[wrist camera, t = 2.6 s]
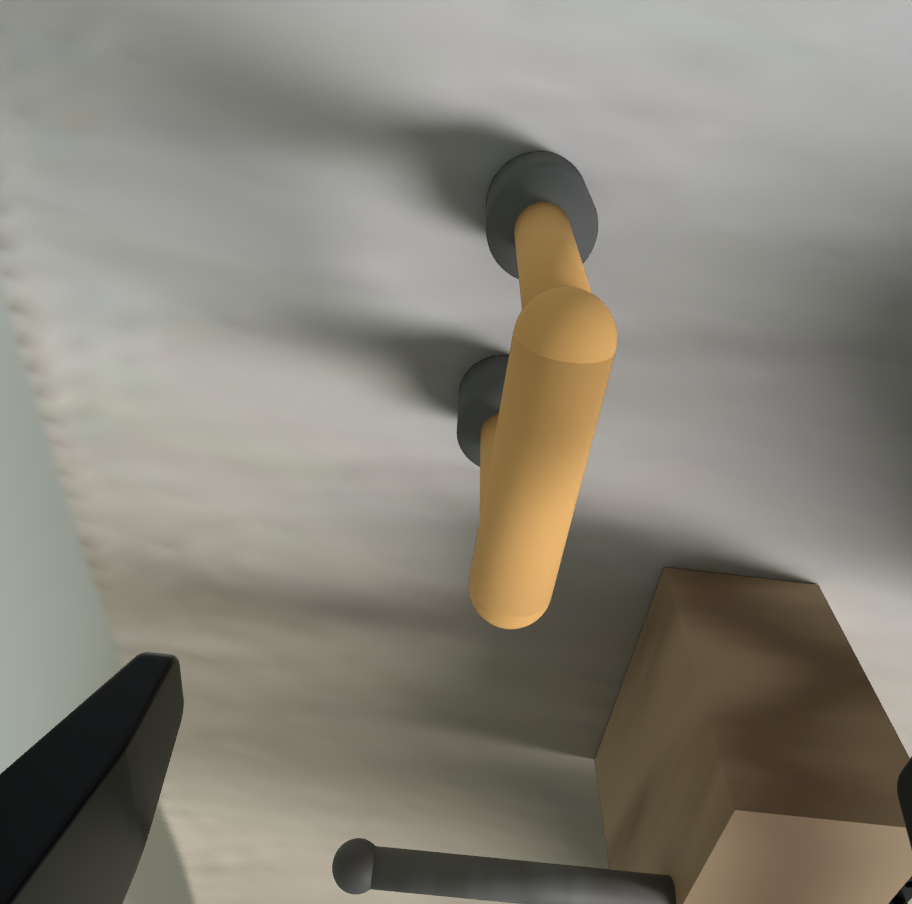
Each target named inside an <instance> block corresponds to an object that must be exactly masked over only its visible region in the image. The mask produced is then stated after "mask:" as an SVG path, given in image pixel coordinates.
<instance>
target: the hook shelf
mask: <svg viewBox="0 0 912 904" xmlns="http://www.w3.org/2000/svg"><path fill="white" fill-rule="evenodd" d="M909 760H910V758H909V756H908V754H907V752H906V750H905V748H904V746H903V745H902V743H901V741H900V739H899V737H898V735H897V733H896V731H895V729H894V727H893V726H892V724H891V722H890V720H889V718H888V716H887V714H886V712H885V710H884V709H883V707H882V705H881V703H880V701H879V699H878V697H877V695H876V693H875V691H874V690H873V688H872V686H871V684H870V682H869V680H868V678H867V676H866V674H865V672H864V671H863V669H862V667H861V665H860V663H859V661H858V659H857V657H856V655H855V653H854V652H853V650H852V648H851V646H850V644H849V642H848V640H847V638H846V636H845V634H844V633H843V631H842V629H841V627H840V625H839V623H838V621H837V619H836V617H835V616H834V614H833V612H832V610H831V608H830V606H829V604H828V602H827V600H826V598H825V597H824V595H823V593H822V591H821V589H820V587H819V585H815V584H806V583H798V582H789V581H780V580H772V579H763V578H754V577H746V576H737V575H728V574H720V573H711V572H702V571H694V570H685V569H676V568H668V567H664V569H663V572H662V575H661V578H660V580H659V583H658V586H657V589H656V592H655V594H654V597H653V600H652V603H651V605H650V608H649V611H648V614H647V616H646V619H645V622H644V625H643V628H642V630H641V633H640V636H639V639H638V641H637V644H636V647H635V650H634V653H633V655H632V658H631V661H630V664H629V666H628V669H627V672H626V675H625V678H624V680H623V683H622V686H621V689H620V691H619V694H618V697H617V700H616V703H615V705H614V708H613V711H612V714H611V716H610V719H609V722H608V725H607V727H606V730H605V733H604V736H603V739H602V741H601V744H600V747H599V750H598V752H597V755H596V758H595V768H596V775H597V782H598V790H599V797H600V804H601V812H602V819H603V827H604V834H605V841H606V849H607V856H608V863H609V869H600V868H590V867H580V866H570V865H560V864H550V863H540V862H529V861H519V860H509V859H499V858H489V857H479V856H469V855H459V854H449V853H439V852H429V851H419V850H408V849H398V848H388V847H378V846H375V845H374V844H373V843H371V842H370V841H368V840H366V839H361V838H356V839H352V840H349V841H347V842H345V843H344V844H343V845H342V846H341V847H340V848H339V849H338V851H337V852H336V854H335V857H334V860H333V865H332V871H333V876H334V879H335V881H336V883H337V885H338V886H339V887H340V888H341V889H342V890H343V891H345V892H347V893H350V894H362V893H364V892H367V891H368V890H370V889H374V890H385V891H395V892H405V893H416V894H426V895H436V896H447V897H457V898H467V899H478V900H488V901H498V902H509V903H519V904H889V902H890V901H891V900H892V899H893V898H894V896H895V895H896V894H897V893H898V892H899V890H900V889H901V888H902V887H903V886H904V885H905V883H906V882H907V881H908V880H909V879H910V877H911V876H912V850H911V846H910V842H909V838H908V834H907V830H906V826H905V823H904V819H903V815H902V811H901V807H900V803H899V799H898V794H897V780H898V777H899V774H900V772H901V771H902V770H903V768H904V767H905V765H906V764H907V763H908V761H909Z"/></svg>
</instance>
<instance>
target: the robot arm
mask: <svg viewBox="0 0 912 904" xmlns="http://www.w3.org/2000/svg"><path fill="white" fill-rule="evenodd" d="M183 707H184V699H183V690H182V681H181V672H180V664H179V661H178V659H177V657H176V656H174V655H169V654H160V653H150V652H145V653H141V654H139V655H137V656H136V657H135V658H134V659H132V660H131V661H130V662H129V663H128V664H127V665H126V666H124V667H123V668H122V669H121V670H120V671H119V672H118V673H116V674H115V675H114V676H113V677H112V678H111V679H109V680H108V681H107V682H106V683H105V684H104V685H103V686H101V687H100V688H99V689H98V690H97V691H96V692H94V693H93V694H92V695H91V696H90V697H89V698H88V699H86V700H85V701H84V702H83V703H82V704H81V705H80V706H78V707H77V708H76V709H75V710H74V711H73V712H71V713H70V714H69V715H68V716H67V717H66V718H65V719H63V720H62V721H61V722H60V723H59V724H58V725H56V726H55V727H54V728H53V729H52V730H51V731H50V732H49V733H47V734H46V735H45V736H44V737H43V738H42V739H40V740H39V741H38V742H37V743H36V744H35V745H34V746H33V747H31V748H30V749H29V750H28V751H27V752H25V753H24V755H22V756H21V757H20V758H18V759H17V760H16V761H15V762H14V763H13V764H12V765H10V766H9V767H8V768H7V769H6V770H5V771H4V772H2V773H1V774H0V904H123V901H124V899H125V896H126V894H127V891H128V889H129V886H130V884H131V881H132V879H133V877H134V874H135V872H136V869H137V866H138V864H139V861H140V858H141V856H142V853H143V850H144V847H145V844H146V841H147V838H148V834H149V831H150V827H151V824H152V821H153V817H154V814H155V810H156V807H157V803H158V800H159V796H160V793H161V789H162V786H163V782H164V779H165V775H166V772H167V768H168V765H169V762H170V758H171V755H172V751H173V748H174V744H175V741H176V737H177V734H178V730H179V727H180V723H181V719H182V714H183ZM897 794H898V799H899V803H900V807H901V811H902V815H903V819H904V823H905V826H906V830H907V834H908V838H909V842H910V846H911V850H912V757H911V758H910V760H909V761H908V763H907V764H906V765H905V767H904V768H903V770H902V771H901V772H900V774H899V777H898V780H897ZM911 898H912V876H911V877H910V879H909V880H908V881H907V882H906V883H905V885H904V886H903V887H902V888H901V889H900V890H899V892H898V893H897V894H896V895H895V896H894V898H893V899H892V900H891V901H890V902H889V904H908V903H907V902H908V901H909V900H910V899H911Z"/></svg>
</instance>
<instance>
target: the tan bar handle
mask: <svg viewBox="0 0 912 904" xmlns="http://www.w3.org/2000/svg"><path fill="white" fill-rule="evenodd" d="M597 232H598V217H597V212H596V208H595V206H594V203H593V201H592V198H591V196H590V194H589V192H588V189H587V187H586V185H585V182H584V180H583V178H582V176H581V174H580V173H579V171H578V170H577V169H576V167H575V166H574V165H573V164H572V163H571V162H569V161H568V160H566V159H565V158H563V157H561V156H559V155H557V154H554V153H550V152H543V151H536V152H529V153H525V154H522V155H519V156H517V157H515V158H513V159H512V160H510V161H509V162H507V163H506V164H505V165H504V166H503V167H502V168H501V169H500V170H499V171H498V172H497V174H496V175H495V177H494V178H493V180H492V182H491V184H490V187H489V190H488V194H487V201H486V233H487V241H488V245H489V248H490V251H491V253H492V255H493V257H494V259H495V260H496V262H497V263H498V264H499V265H500V267H501V268H502V269H504V270H505V271H506V272H507V273H509V274H510V275H512V276H513V277H515V278H517V279H519V284H520V293H521V303H522V311H521V313H520V315H519V317H518V318H517V321H516V324H515V327H514V331H513V337H512V342H511V348H510V354H509V356H508V355H498V356H492V357H489V358H486V359H484V360H481V361H480V362H478V363H476V364H475V365H474V366H472V367H471V368H470V369H469V370H468V372H467V373H466V374H465V376H464V378H463V379H462V382H461V385H460V389H459V405H458V422H457V439H458V443H459V445H460V448H461V450H462V451H463V453H464V454H465V455H466V457H467V458H468V459H469V460H470V461H472V462H473V463H474V464H476V465H478V466H480V522H479V528H478V534H477V539H476V545H475V550H474V556H473V562H472V567H471V573H470V579H469V593H470V598H471V601H472V603H473V606H474V607H475V609H476V611H477V612H478V614H479V615H480V616H481V617H482V618H483V619H485V620H486V621H487V622H489V623H490V624H492V625H494V626H497V627H499V628H504V629H518V628H522V627H526V626H528V625H530V624H532V623H533V622H535V621H536V620H538V619H539V618H540V617H541V616H542V615H543V613H544V612H545V610H546V609H547V608H548V605H549V603H550V600H551V597H552V593H553V590H554V586H555V582H556V578H557V574H558V570H559V567H560V563H561V559H562V555H563V551H564V547H565V544H566V540H567V536H568V532H569V528H570V524H571V521H572V517H573V513H574V509H575V505H576V501H577V498H578V494H579V490H580V486H581V482H582V478H583V475H584V471H585V467H586V463H587V459H588V455H589V452H590V448H591V444H592V440H593V436H594V432H595V429H596V425H597V421H598V417H599V413H600V409H601V406H602V402H603V398H604V394H605V390H606V386H607V383H608V379H609V375H610V371H611V367H612V363H613V360H614V356H615V352H616V346H617V330H616V325H615V321H614V318H613V316H612V315H611V313H610V311H609V309H608V308H607V306H606V305H605V304H604V303H603V302H602V301H601V300H600V299H599V298H598V297H596V296H595V295H593V294H592V292H591V289H590V286H589V283H588V280H587V276H586V273H585V270H584V267H583V263H584V262H585V260H586V259H587V258H588V256H589V255H590V253H591V251H592V249H593V247H594V245H595V241H596V238H597Z"/></svg>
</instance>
